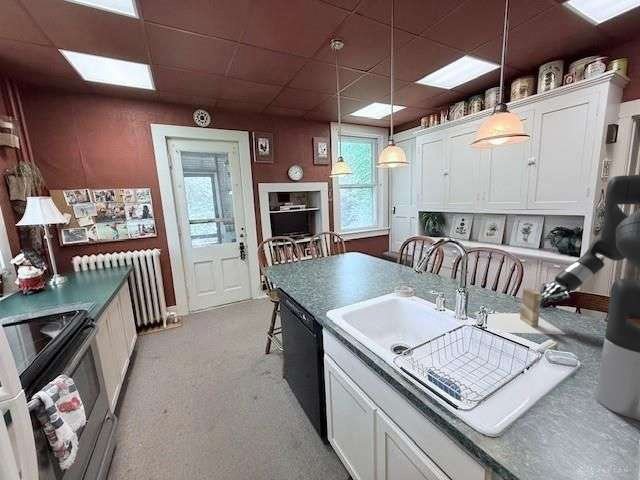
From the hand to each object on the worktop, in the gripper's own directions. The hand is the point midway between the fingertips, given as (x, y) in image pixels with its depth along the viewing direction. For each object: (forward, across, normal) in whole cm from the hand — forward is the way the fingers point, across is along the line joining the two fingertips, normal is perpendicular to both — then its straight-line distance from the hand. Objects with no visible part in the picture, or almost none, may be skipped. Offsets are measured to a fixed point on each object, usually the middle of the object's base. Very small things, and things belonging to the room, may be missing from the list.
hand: (537, 304), depth 110 cm
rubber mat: (+12, 0, +1) cm, 12 cm away
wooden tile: (+8, 0, +4) cm, 9 cm away
